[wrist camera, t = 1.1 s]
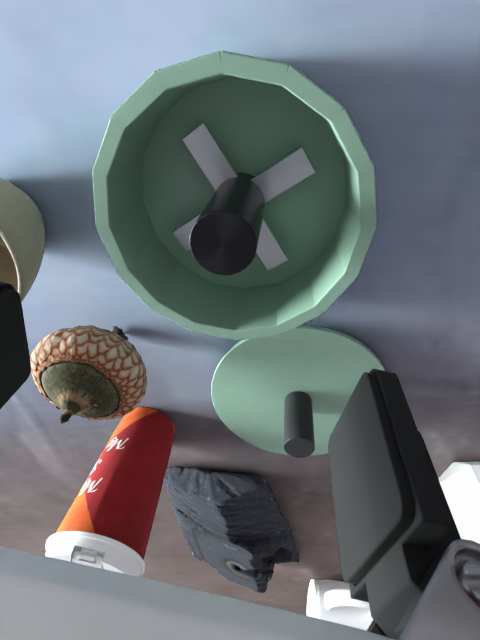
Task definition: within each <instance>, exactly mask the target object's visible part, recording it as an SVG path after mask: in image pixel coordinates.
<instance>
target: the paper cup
mask: <svg viewBox="0 0 480 640" xmlns="http://www.w3.org/2000/svg"><path fill="white" fill-rule="evenodd" d="M174 434H175V427H174V424H173V422H172V421H171V419H170V418H169V417H168V416H166V415H165V414H164V413H162V412H160V411H158V410H155V409H152V408H147V407H138V408H135V409H134V410H133V411H131V412H130V413H128V414H126V415H125V416H124V417H123V419H122V420H121V422H120V423H119V425H118V427H117V428H116V430H115V432H114V433H113V435H112V437H111V438H110V440H109V442H108V444H107V445H106V447H105V449H104V450H103V452H102V454H101V456H100V457H99V459H98V461H97V463H96V464H95V466H94V468H93V469H92V471H91V473H90V475H89V476H88V478H87V480H86V482H85V483H84V485H83V487H82V489H81V490H80V492H79V494H78V496H77V497H76V499H75V501H74V502H73V504H72V506H71V508H70V509H69V511H68V513H67V515H66V516H65V518H64V520H63V522H62V523H61V525H60V527H59V528H58V530H57V532H56V534H53V535H52V536H50V537H49V538H48V539H47V541H46V555H45V556H47V557H51V558H56V559H60V560H65V561H69V562H74V563H78V564H83V565H87V566H92V567H96V568H101V569H105V570H110V571H114V572H119V573H123V574H128V575H132V576H137V577H141V576H142V574H143V573H144V571H145V563H144V561H143V560H144V556H145V552H146V548H147V544H148V540H149V536H150V532H151V528H152V524H153V520H154V516H155V512H156V508H157V504H158V500H159V496H160V492H161V488H162V484H163V480H164V476H165V472H166V468H167V464H168V460H169V456H170V452H171V448H172V443H173V439H174Z"/></svg>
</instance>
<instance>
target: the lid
mask: <svg viewBox="0 0 480 640" xmlns="http://www.w3.org/2000/svg"><path fill="white" fill-rule="evenodd" d="M372 369H378V370H383V371H386V370H385V368H384V366H383V364H382V363H381V361H380V360H379V359H378V358H377V356H376V355H375V354H374V353H373V352H372V351H371V350H370V349H369V348H368V347H366V346H365V345H363V344H362V343H361V342H359V341H358V340H356V339H354V338H352V337H350V336H348V335H346V334H344V333H341V332H338V331H336V330H332V329H328V328H324V327H318V326H311V325H300V326H298V327H296V328H294V329H292V330H290V331H288V332H286V333H284V334H281V335H278V336H270V337H261V338H253V339H245V340H241V341H240V342H238V343H237V344H236V345H234V346H233V347H232V348H231V349H230V350H229V351H228V352H227V353H226V354H225V355H224V356H223V357H222V359H221V360H220V362H219V363H218V365H217V368H216V370H215V372H214V376H213V380H212V387H211V394H212V401H213V404H214V407H215V410H216V412H217V414H218V416H219V417H220V419H221V420H222V422H223V423H224V424H225V425H226V426H227V427H228V428H229V429H230V430H231V431H232V432H233V433H234V434H235V435H237V436H238V437H240V438H241V439H243V440H244V441H246V442H248V443H250V444H252V445H254V446H256V447H258V448H261V449H264V450H267V451H270V452H274V453H278V454H284V455H291V456H293V457H298V458H302V457H307V456H314V455H323V454H328V442H329V438H330V435H331V433H332V431H333V429H334V427H335V425H336V424H337V422H338V420H339V418H340V416H341V414H342V412H343V410H344V408H345V406H346V404H347V402H348V401H349V399H350V397H351V395H352V393H353V391H354V389H355V387H356V385H357V383H358V381H359V380H360V378H361V376H362V374H363V373H364V372H367V373H369V372H370V371H371V370H372Z"/></svg>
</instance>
